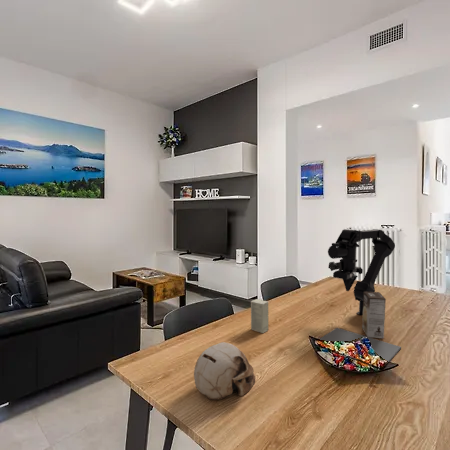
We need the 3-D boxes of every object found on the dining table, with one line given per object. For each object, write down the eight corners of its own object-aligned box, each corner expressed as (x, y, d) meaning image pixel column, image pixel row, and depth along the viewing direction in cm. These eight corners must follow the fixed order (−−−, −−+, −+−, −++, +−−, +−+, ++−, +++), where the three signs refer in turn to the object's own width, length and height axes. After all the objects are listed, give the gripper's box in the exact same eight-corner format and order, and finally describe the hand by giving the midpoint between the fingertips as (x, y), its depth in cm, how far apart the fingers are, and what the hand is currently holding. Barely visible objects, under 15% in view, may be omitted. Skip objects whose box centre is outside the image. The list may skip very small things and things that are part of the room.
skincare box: (268, 330, 123) (269, 301, 122) (262, 333, 120) (263, 304, 119) (256, 326, 127) (256, 298, 126) (250, 329, 124) (250, 300, 123)
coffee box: (361, 328, 126) (362, 290, 125) (377, 329, 125) (379, 291, 124) (367, 337, 117) (368, 297, 116) (384, 338, 116) (386, 298, 115)
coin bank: (256, 372, 91) (255, 332, 89) (249, 417, 74) (247, 368, 72) (207, 368, 94) (205, 329, 92) (190, 410, 78) (186, 363, 76)
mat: (337, 328, 125) (337, 327, 125) (401, 348, 108) (401, 346, 108) (313, 344, 111) (313, 342, 111) (382, 369, 94) (382, 367, 94)
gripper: (340, 253, 147) (339, 284, 148) (322, 257, 134) (321, 291, 135) (363, 255, 139) (362, 288, 140) (347, 260, 126) (345, 296, 127)
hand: (347, 290), depth 136 cm, fingers closed
